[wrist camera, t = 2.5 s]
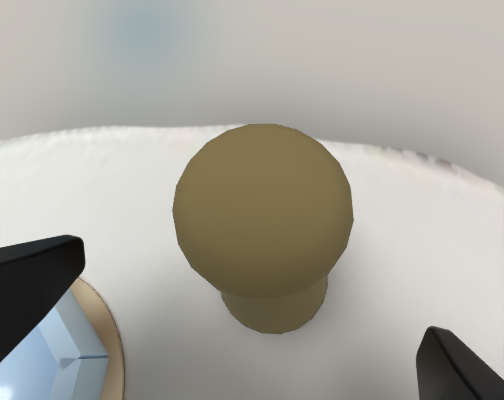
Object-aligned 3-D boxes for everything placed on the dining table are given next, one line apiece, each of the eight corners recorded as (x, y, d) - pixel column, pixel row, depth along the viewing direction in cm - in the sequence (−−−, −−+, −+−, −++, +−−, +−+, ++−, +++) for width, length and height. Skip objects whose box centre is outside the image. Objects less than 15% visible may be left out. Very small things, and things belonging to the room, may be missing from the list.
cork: (333, 233, 19) (388, 100, 9) (320, 345, 16) (377, 338, 6) (232, 217, 20) (179, 81, 10) (206, 320, 17) (102, 279, 7)
